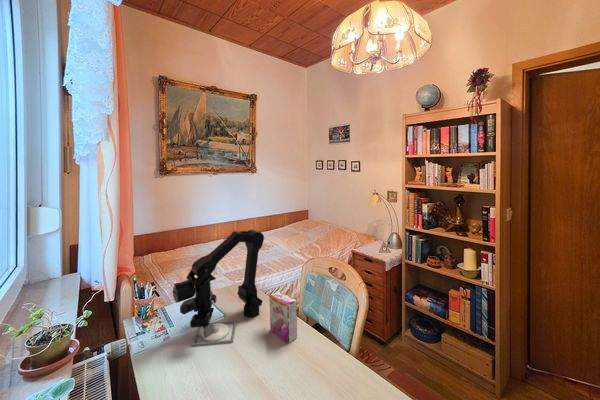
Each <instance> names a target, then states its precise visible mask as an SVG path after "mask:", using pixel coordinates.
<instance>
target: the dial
mask: <svg viewBox="0 0 600 400" xmlns="http://www.w3.org/2000/svg"><path fill="white" fill-rule="evenodd" d="M210 323H211V324H209V325H208V326H206V327H204V328H203V327H202V329H203V330H202V333H201V334H202V336H201V337H202V340H204V341H206V342H215V341H223V340H224V339H225V338H226V337H227V336H228V335H229V326H228V324H222V323H217V324H212V323H213V322H210Z"/></svg>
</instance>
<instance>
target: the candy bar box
mask: <svg viewBox="0 0 600 400" xmlns="http://www.w3.org/2000/svg"><path fill="white" fill-rule="evenodd" d="M297 305H298V303H297V300H296V299H294V298H292V297H291V296H289V295H287V294H284V293H283V292H281V291H280V290H277V291H275V292H273V293H270V295H269V315H270V316H269V319H270V320H269V321H270V332H271V333H273V334H274V335H275V336H277V337H278V338H280V339H282V340H283V341H285V342H286V343H287V344H290V343H292V342H293V341H294V340H296V339H298V314H297V313H298V312H297V311H298V306H297ZM291 341H292V342H291Z"/></svg>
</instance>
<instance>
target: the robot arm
mask: <svg viewBox="0 0 600 400" xmlns="http://www.w3.org/2000/svg"><path fill="white" fill-rule="evenodd" d="M264 241H265V235H264V234H263V233H262V232H260V231H258V230H255V229H249V230H240V231H238V230H235V231H232V232H231V234H230V235H228V237H226V239H224V240H223V241H222V242H221V243H220V244H219V245H218V246H217V247H216V248H214V249H213V250H212V251H211V252H210V253H208V254H206V255H204V256H201V257H199V258H198V259H197V260H195V261H194V262H192V265H191V269H190V270H189V272H188V273H187V276H186V279H185V280H184V281H180V282H176V283H174V284H173V288H172V297H173V299H174V302H175V303H176V304H179V303H180V302H182V303H181V304H180V306H179V313H180V314H182V315H186V314H189V313H190V312H194V313H196V314H194V315H192V318H191V319H190V320H189V321H190V322H189V324H190V325H189V326H190V328H191V329H192V328H199V327H201V328H202V329H203V328H204V327H206V326H208V325H209V323H211V322H210V321H211V319H212V316H213V312H214V310H215V308H214V307H213V303H214V304H216V303H217V295H216V294H213V291H212V285H211V282H212V281H215V280H216V279H217V278H216V277H215V276H214V275H212V273H214V271H215V270H216V268H217V265H218V263H219V262H220V261H221V260H222V259H223V258H224V257H226V256H227V255H228V254H229V253H230V252H231V251H232V250H233V249H234V248H235V247H236V246H238V244H240V243H244V244H245V246H246V251H247V252H246V259H245V267H244V275H243V277H244V278H243V283H242V284H241V285H238V287H237V292H236V294H237V295H238V298H239V299H240V301H242V302H243V303H244V305H243V317H244V318H245V317H247V318H252V319H253V318H256V317H257V316H260V306H262V304H263V300H262V299H261V298H260V297H258V289H257V286H256V276H257V275H256V274H257V268H258V258H259V251H260V250H261V248H262V247H263V244H264ZM195 276H196V277H195Z"/></svg>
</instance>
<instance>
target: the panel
mask: <svg viewBox="0 0 600 400" xmlns="http://www.w3.org/2000/svg"><path fill="white" fill-rule="evenodd" d="M211 323H212V324H217V323H222V324H225V325H229V324H232V325H233V324H234V325H233V330H232V334H231V335H232V336H231V339H228V340H220V341H215V342H207V341H206V342H196V341H197V338H198V336H199V334H200V331H201V329H202V327H197V331H196V333H195V335H194V338H193V341H192V343H191V347H192V348H193V347H202V346H203V347H206V346H214V345H224V344H234V341H235V340H234V338H235V334H236V327H237V320H228V321H216V322H215V321H214V322H209V324H211ZM200 336H201V337H203V336H202V333H201V334H200Z"/></svg>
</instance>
